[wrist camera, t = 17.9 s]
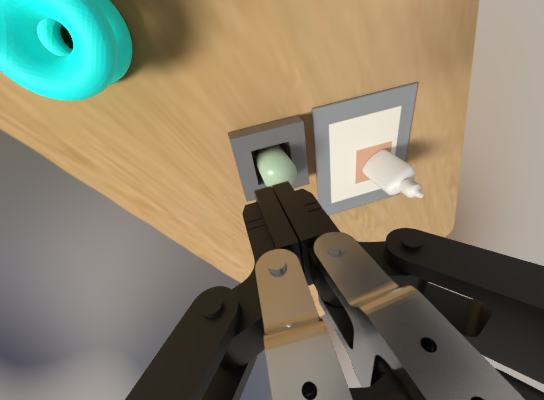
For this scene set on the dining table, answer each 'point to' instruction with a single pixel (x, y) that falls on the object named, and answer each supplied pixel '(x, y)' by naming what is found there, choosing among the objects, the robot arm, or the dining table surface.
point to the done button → (275, 165)
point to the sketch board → (358, 144)
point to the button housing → (264, 137)
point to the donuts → (63, 46)
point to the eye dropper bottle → (392, 174)
